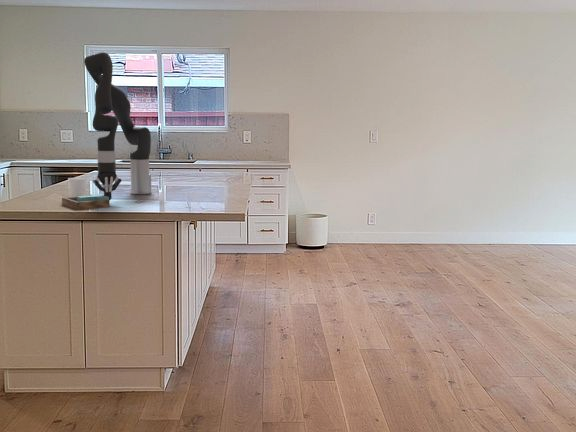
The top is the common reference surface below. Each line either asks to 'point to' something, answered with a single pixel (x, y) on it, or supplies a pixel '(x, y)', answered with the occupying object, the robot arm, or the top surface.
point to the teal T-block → (92, 198)
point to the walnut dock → (84, 203)
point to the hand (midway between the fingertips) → (107, 200)
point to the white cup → (77, 187)
